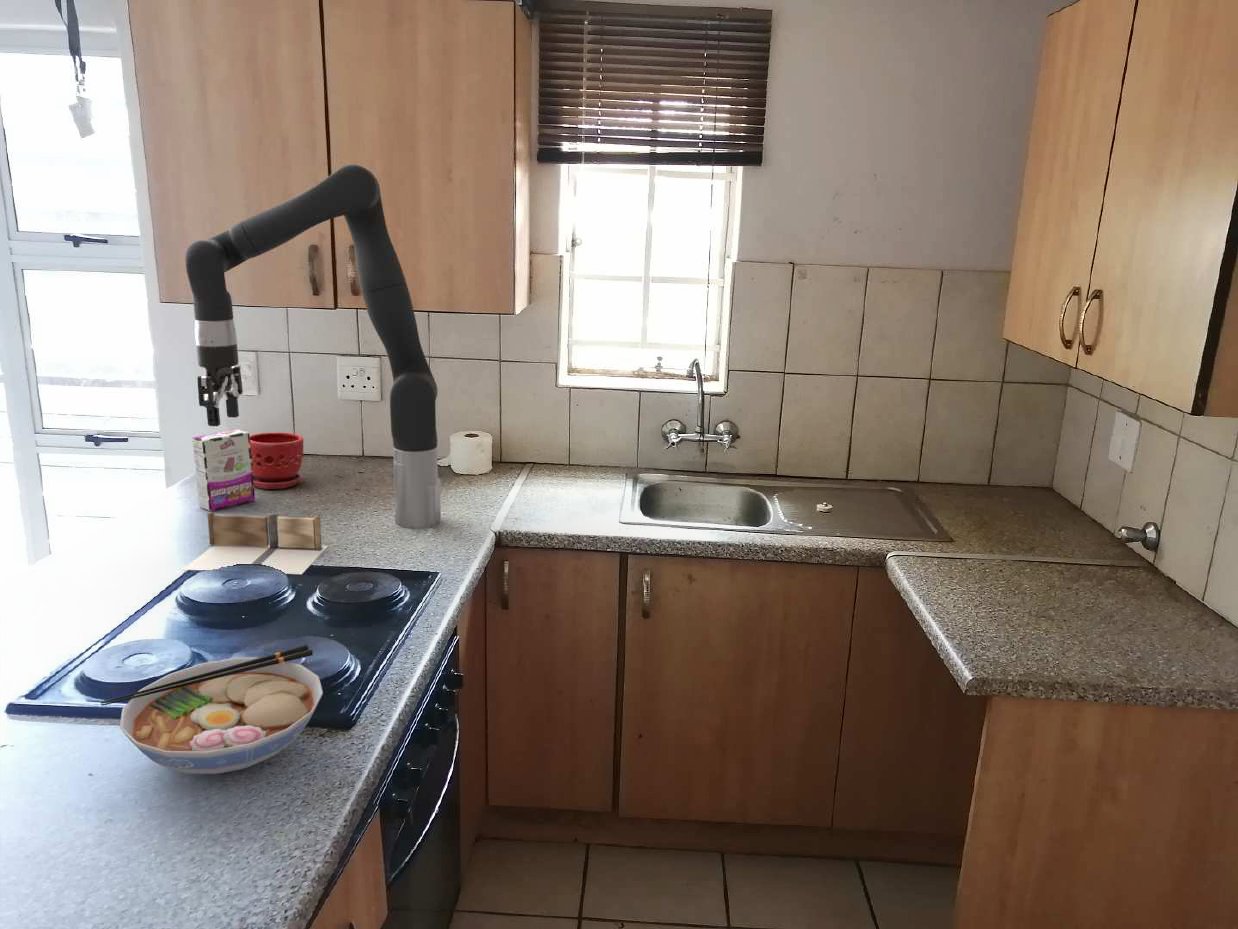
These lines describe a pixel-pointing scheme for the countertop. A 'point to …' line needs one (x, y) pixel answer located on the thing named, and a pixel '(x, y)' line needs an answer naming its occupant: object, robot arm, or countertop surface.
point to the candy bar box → (223, 469)
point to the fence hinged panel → (238, 530)
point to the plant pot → (276, 459)
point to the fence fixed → (295, 532)
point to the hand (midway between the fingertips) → (224, 421)
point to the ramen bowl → (222, 712)
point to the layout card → (257, 557)
